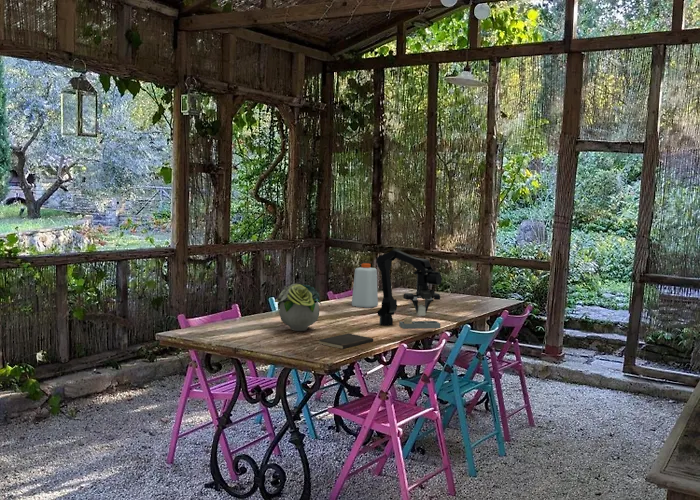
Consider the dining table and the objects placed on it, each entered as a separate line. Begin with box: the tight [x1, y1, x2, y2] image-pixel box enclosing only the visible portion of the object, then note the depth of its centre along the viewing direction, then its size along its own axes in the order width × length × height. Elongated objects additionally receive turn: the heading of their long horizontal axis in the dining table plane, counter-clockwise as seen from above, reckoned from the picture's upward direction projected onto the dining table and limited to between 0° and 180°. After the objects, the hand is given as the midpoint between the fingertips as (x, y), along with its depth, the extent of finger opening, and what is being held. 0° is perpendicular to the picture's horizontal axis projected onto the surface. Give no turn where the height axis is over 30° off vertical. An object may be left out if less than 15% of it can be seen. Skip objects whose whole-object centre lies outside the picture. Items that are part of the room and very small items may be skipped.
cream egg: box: [416, 304, 427, 317], centre depth 339 cm, size 4×4×6 cm
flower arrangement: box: [274, 282, 322, 332], centre depth 338 cm, size 25×25×24 cm
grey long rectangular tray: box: [398, 320, 441, 330], centre depth 351 cm, size 21×8×4 cm, turn 103°
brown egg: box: [403, 316, 413, 324], centre depth 349 cm, size 4×4×6 cm
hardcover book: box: [317, 332, 374, 350], centre depth 311 cm, size 16×23×2 cm
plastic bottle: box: [351, 262, 379, 309], centre depth 422 cm, size 15×15×28 cm
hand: (421, 312), depth 340 cm, fingers closed on cream egg, 4 cm apart
